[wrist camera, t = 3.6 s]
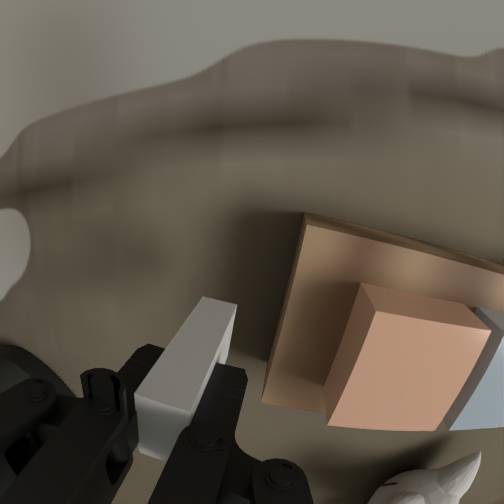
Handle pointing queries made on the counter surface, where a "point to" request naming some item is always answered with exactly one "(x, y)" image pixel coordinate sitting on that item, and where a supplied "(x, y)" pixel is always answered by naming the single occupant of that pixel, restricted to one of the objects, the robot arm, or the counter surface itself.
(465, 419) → the tile
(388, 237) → the board
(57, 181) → the counter surface
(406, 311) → the tile
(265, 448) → the counter surface
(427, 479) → the toy
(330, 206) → the counter surface
